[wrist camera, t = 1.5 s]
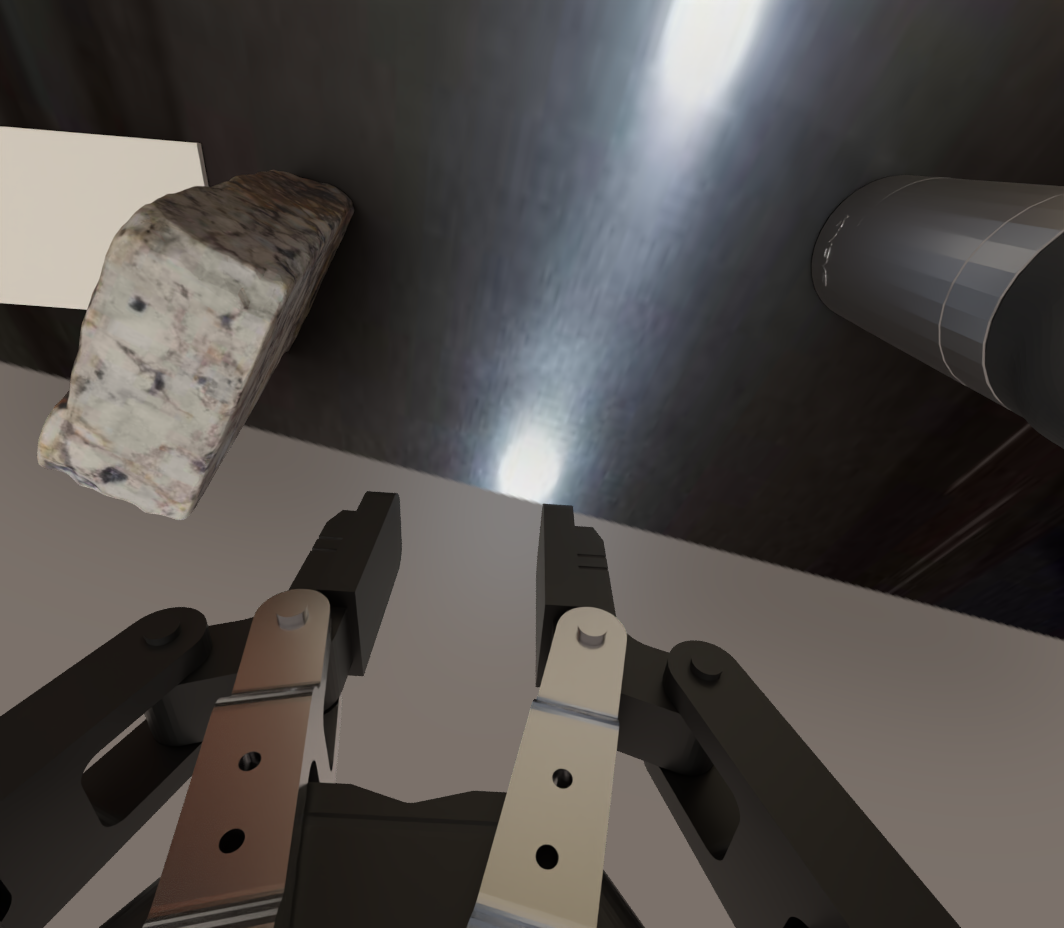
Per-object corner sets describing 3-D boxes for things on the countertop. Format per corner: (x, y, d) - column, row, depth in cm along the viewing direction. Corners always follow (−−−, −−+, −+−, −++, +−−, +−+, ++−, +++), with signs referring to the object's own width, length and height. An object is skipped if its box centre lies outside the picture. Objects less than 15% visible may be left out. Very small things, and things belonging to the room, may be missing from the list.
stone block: (307, 369, 43) (198, 541, 26) (209, 327, 41) (20, 486, 24) (371, 200, 37) (285, 281, 20) (261, 140, 35) (62, 176, 18)
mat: (200, 143, 36) (196, 143, 35) (232, 318, 41) (229, 320, 40) (-96, 118, 35) (-104, 117, 35) (-25, 298, 40) (-31, 300, 40)
